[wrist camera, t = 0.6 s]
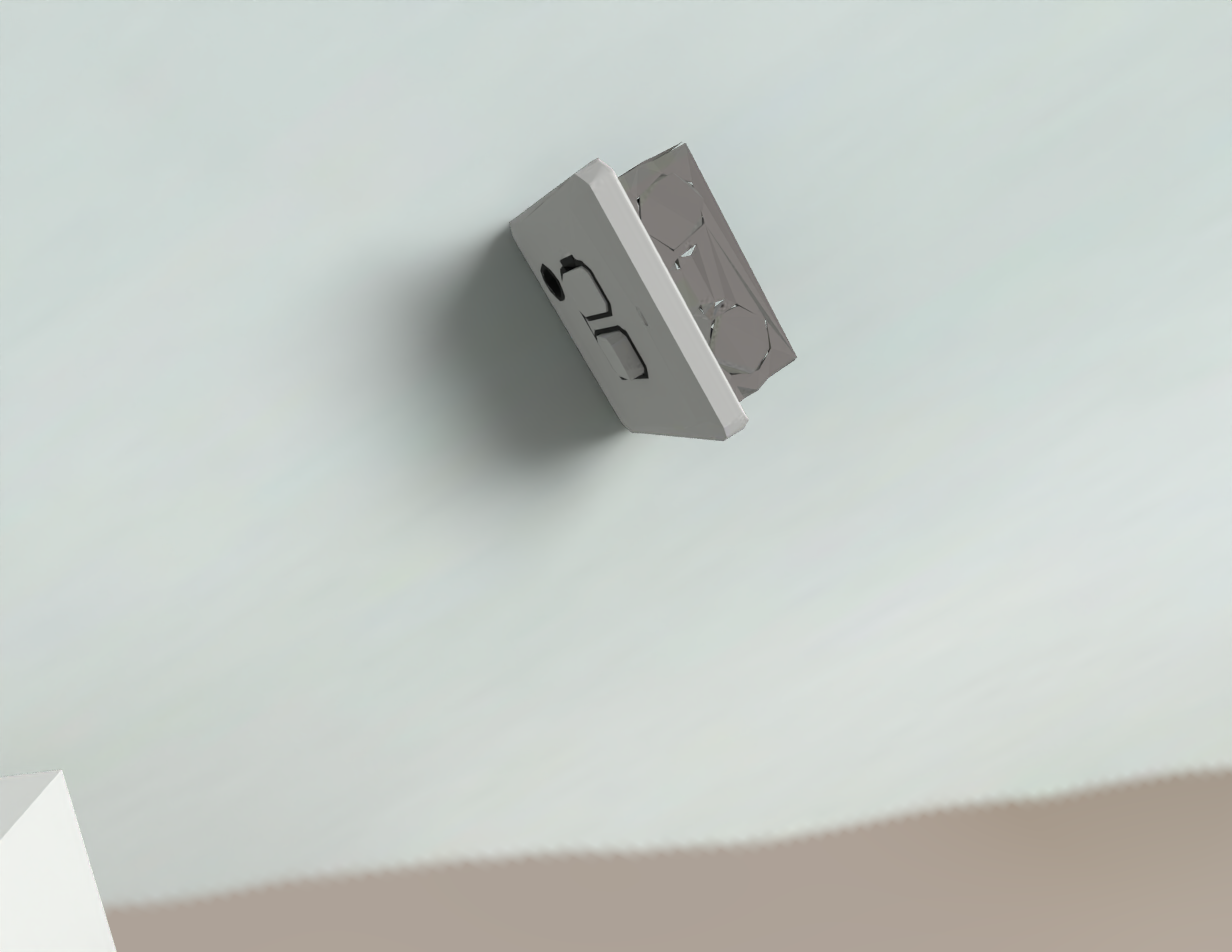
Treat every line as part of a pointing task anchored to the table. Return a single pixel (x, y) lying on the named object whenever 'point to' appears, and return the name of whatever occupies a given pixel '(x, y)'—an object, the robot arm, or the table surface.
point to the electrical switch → (655, 294)
